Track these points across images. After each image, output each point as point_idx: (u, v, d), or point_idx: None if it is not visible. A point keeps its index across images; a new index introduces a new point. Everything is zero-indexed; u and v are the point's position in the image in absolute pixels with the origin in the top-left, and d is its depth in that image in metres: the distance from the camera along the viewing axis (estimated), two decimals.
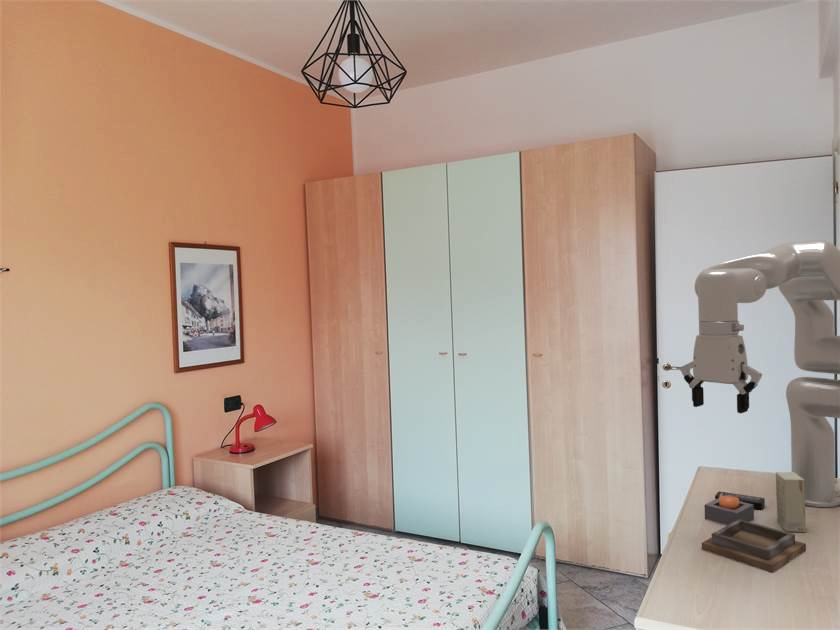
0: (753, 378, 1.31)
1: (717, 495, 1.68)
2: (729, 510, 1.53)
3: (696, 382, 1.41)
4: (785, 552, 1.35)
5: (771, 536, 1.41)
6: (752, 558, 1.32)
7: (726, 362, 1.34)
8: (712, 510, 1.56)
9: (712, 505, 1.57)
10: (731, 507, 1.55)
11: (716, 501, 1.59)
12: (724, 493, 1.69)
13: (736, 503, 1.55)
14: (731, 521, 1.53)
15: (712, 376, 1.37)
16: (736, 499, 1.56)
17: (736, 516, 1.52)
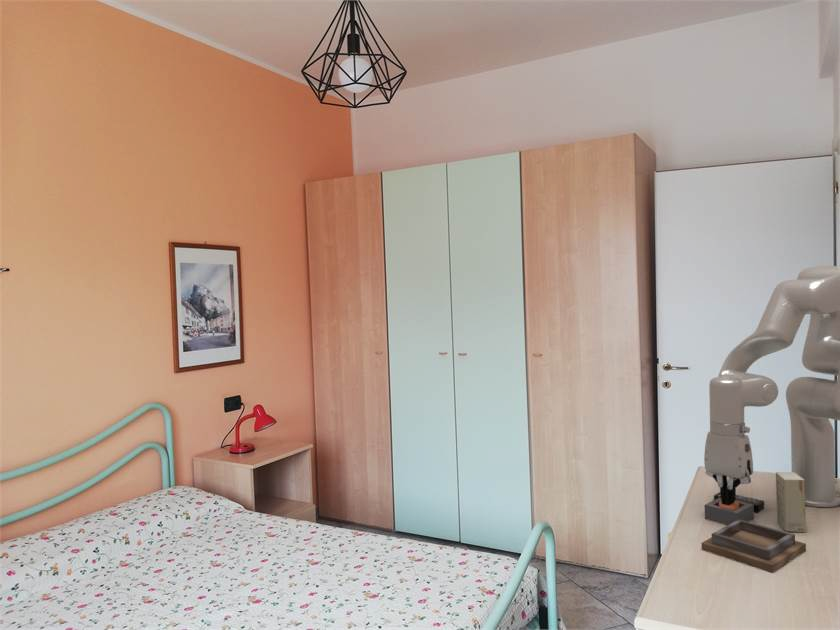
0: (742, 480, 1.53)
1: (716, 495, 1.68)
2: (729, 510, 1.53)
3: (720, 479, 1.57)
4: (785, 552, 1.35)
5: (771, 536, 1.41)
6: (752, 558, 1.32)
7: (734, 459, 1.52)
8: (712, 510, 1.56)
9: (712, 505, 1.57)
10: None
11: (716, 501, 1.59)
12: None
13: (736, 508, 1.55)
14: (731, 521, 1.53)
15: (721, 470, 1.55)
16: (736, 504, 1.56)
17: (736, 516, 1.52)
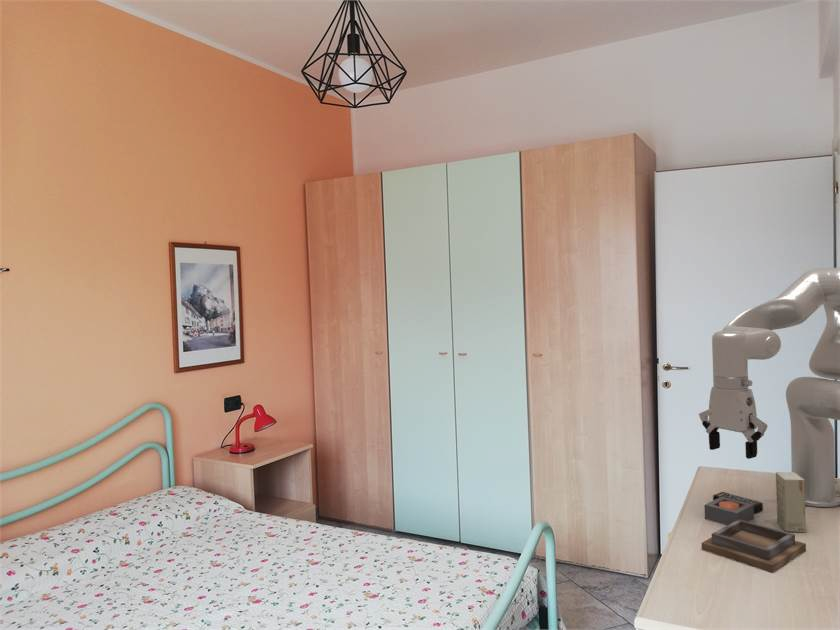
0: (759, 428, 1.48)
1: (716, 495, 1.68)
2: (729, 510, 1.53)
3: (712, 428, 1.59)
4: (785, 552, 1.35)
5: (771, 536, 1.41)
6: (752, 558, 1.32)
7: (736, 413, 1.51)
8: (712, 510, 1.56)
9: (712, 505, 1.57)
10: None
11: (716, 501, 1.59)
12: (725, 494, 1.68)
13: None
14: (731, 521, 1.53)
15: (724, 424, 1.55)
16: (736, 505, 1.56)
17: (736, 516, 1.52)
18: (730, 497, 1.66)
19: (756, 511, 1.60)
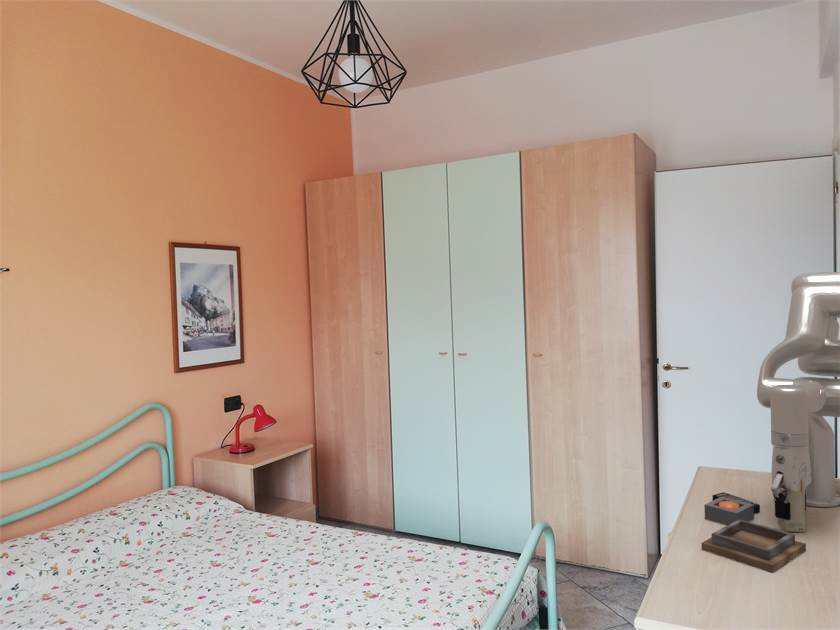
0: None
1: (715, 494, 1.68)
2: (729, 510, 1.53)
3: None
4: (785, 552, 1.35)
5: (771, 536, 1.41)
6: (752, 558, 1.32)
7: None
8: (712, 510, 1.56)
9: (712, 505, 1.57)
10: None
11: (716, 501, 1.59)
12: (725, 494, 1.68)
13: None
14: (731, 521, 1.53)
15: None
16: (736, 505, 1.56)
17: (736, 516, 1.52)
18: (729, 497, 1.66)
19: None
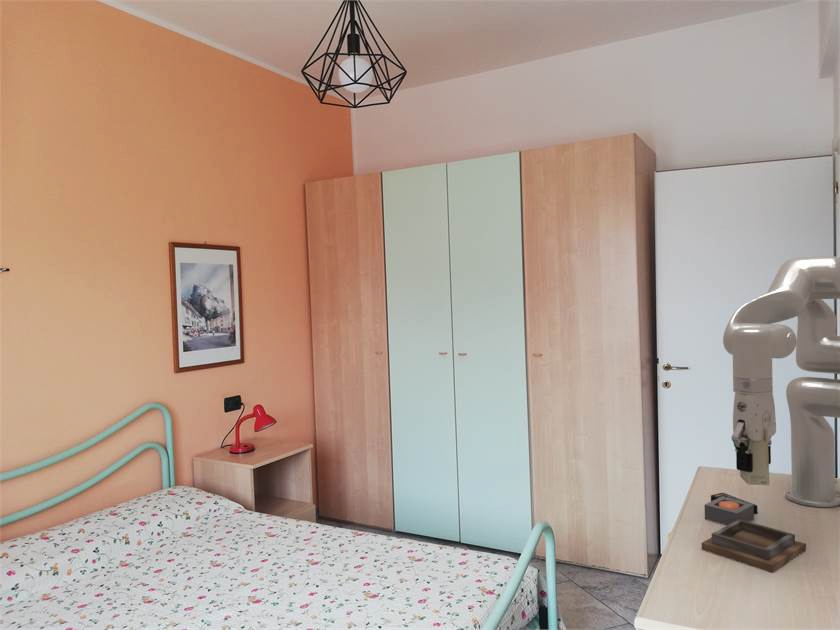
0: None
1: (713, 495, 1.68)
2: (729, 510, 1.53)
3: None
4: (785, 552, 1.35)
5: (771, 536, 1.41)
6: (752, 558, 1.32)
7: None
8: (712, 510, 1.56)
9: (712, 505, 1.57)
10: None
11: (716, 501, 1.59)
12: (724, 495, 1.68)
13: None
14: (731, 521, 1.53)
15: None
16: (736, 505, 1.56)
17: (736, 516, 1.52)
18: None
19: None
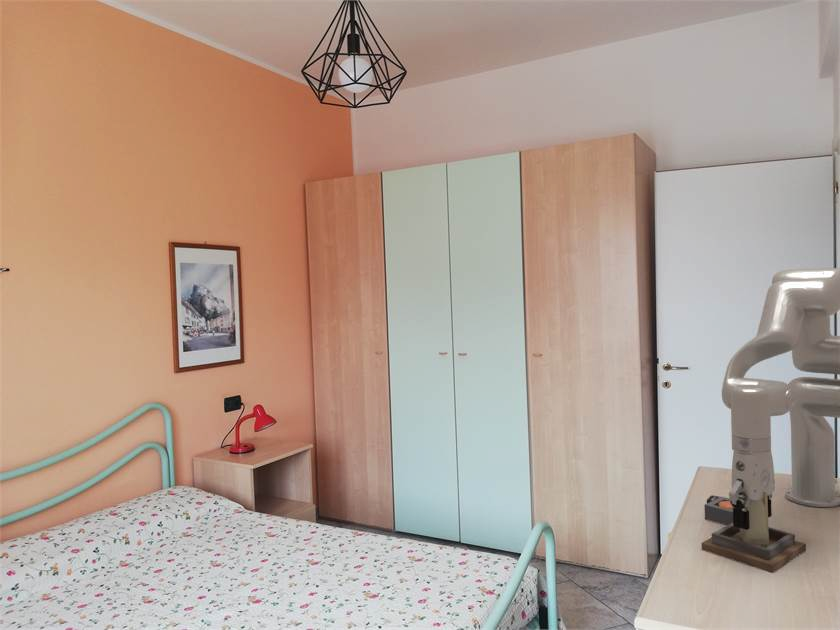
0: None
1: (709, 499, 1.65)
2: (729, 510, 1.53)
3: None
4: (785, 552, 1.35)
5: (771, 536, 1.41)
6: (752, 558, 1.32)
7: None
8: (712, 510, 1.56)
9: (712, 505, 1.57)
10: None
11: (716, 501, 1.59)
12: (716, 497, 1.66)
13: None
14: (731, 521, 1.53)
15: None
16: None
17: None
18: None
19: None
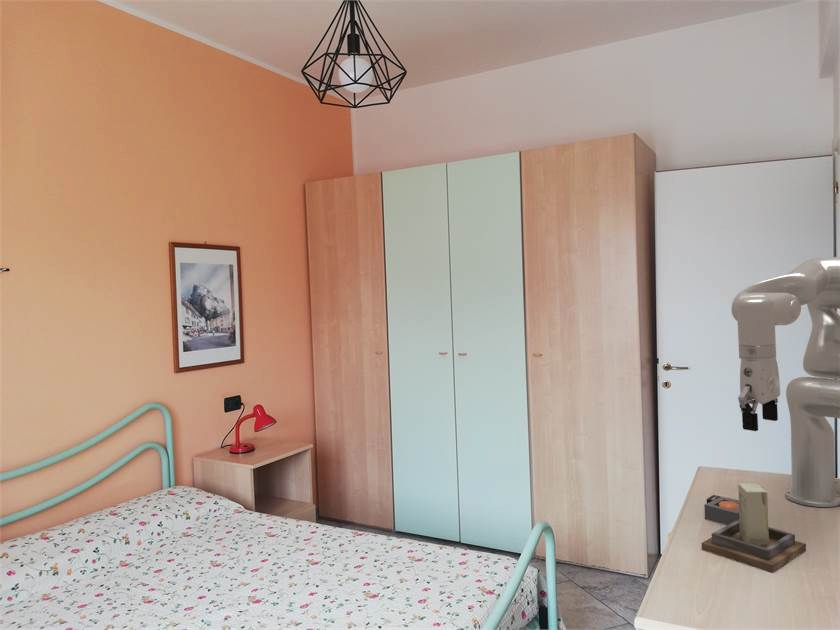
0: None
1: (709, 498, 1.66)
2: (729, 510, 1.53)
3: None
4: (785, 552, 1.35)
5: (771, 536, 1.41)
6: (752, 558, 1.32)
7: None
8: (712, 510, 1.56)
9: (712, 505, 1.57)
10: None
11: (716, 501, 1.59)
12: (717, 497, 1.66)
13: None
14: (731, 521, 1.53)
15: None
16: (736, 505, 1.56)
17: (736, 516, 1.52)
18: None
19: None
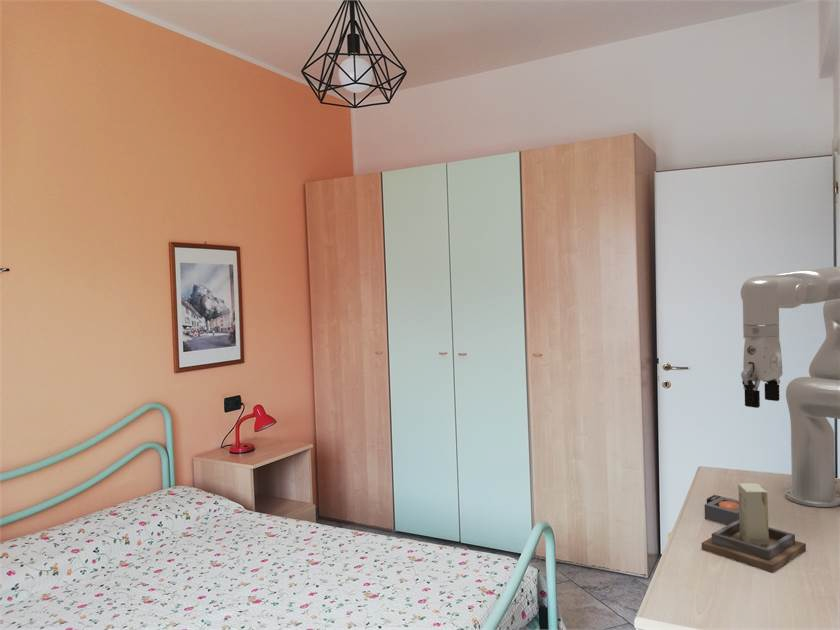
0: None
1: (709, 498, 1.66)
2: (729, 510, 1.53)
3: None
4: (785, 552, 1.35)
5: (771, 536, 1.41)
6: (752, 558, 1.32)
7: None
8: (712, 510, 1.56)
9: (712, 505, 1.57)
10: None
11: (716, 501, 1.59)
12: (718, 497, 1.66)
13: None
14: (731, 521, 1.53)
15: None
16: (736, 505, 1.56)
17: (736, 516, 1.52)
18: None
19: None
